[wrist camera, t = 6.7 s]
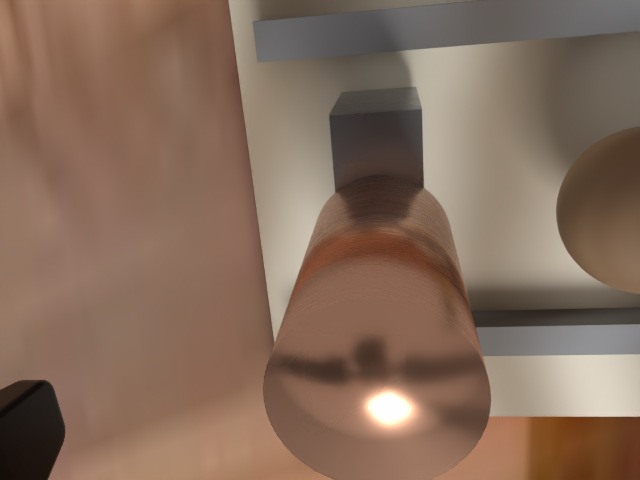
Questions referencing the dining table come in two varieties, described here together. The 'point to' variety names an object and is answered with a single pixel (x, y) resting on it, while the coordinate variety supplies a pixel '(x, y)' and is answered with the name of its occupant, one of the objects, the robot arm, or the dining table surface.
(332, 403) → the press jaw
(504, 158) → the nutcracker board
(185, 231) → the dining table surface
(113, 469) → the dining table surface
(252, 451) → the dining table surface
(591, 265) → the walnut
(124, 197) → the dining table surface
